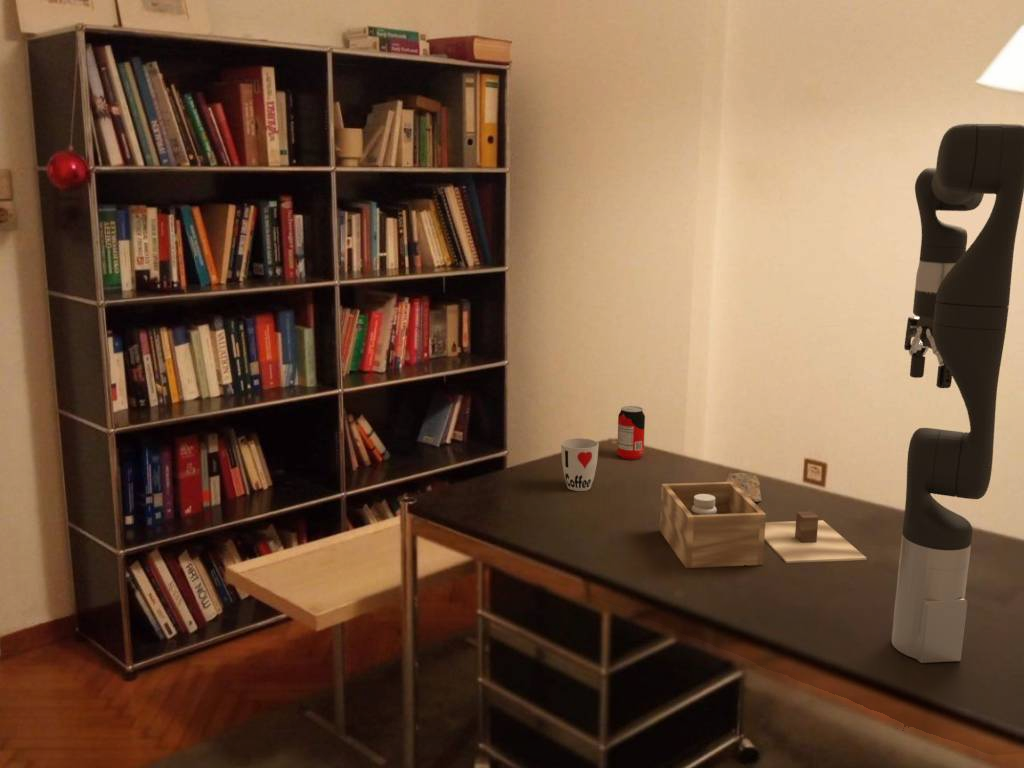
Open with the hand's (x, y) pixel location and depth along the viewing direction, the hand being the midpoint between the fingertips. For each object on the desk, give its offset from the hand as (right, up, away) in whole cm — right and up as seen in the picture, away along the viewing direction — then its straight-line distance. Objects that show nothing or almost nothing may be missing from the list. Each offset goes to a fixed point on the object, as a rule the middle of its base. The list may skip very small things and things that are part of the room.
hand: (929, 382), depth 171 cm
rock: (-23, -25, +42) cm, 53 cm away
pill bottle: (-36, -30, +17) cm, 50 cm away
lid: (-16, -31, +17) cm, 38 cm away
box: (-35, -31, +13) cm, 49 cm away
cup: (-57, -23, +46) cm, 77 cm away
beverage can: (-43, -18, +68) cm, 83 cm away
